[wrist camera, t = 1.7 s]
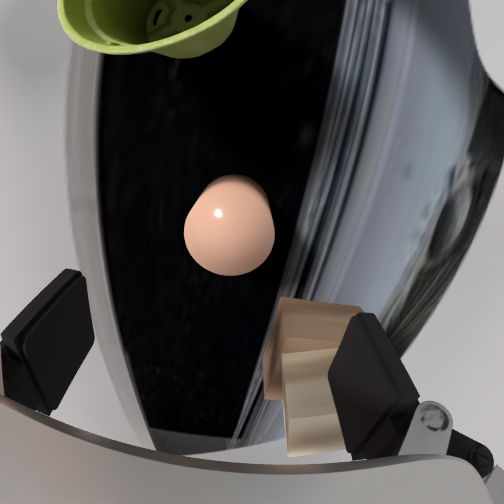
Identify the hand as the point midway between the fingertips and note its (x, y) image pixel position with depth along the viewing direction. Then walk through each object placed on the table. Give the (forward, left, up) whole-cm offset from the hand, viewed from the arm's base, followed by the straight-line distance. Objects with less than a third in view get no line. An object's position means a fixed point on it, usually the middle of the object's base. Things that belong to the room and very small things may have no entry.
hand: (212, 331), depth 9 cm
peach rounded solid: (-1, 0, -12) cm, 12 cm away
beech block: (+9, +8, -7) cm, 14 cm away
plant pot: (-14, -5, -12) cm, 19 cm away
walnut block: (+9, +8, -12) cm, 17 cm away
